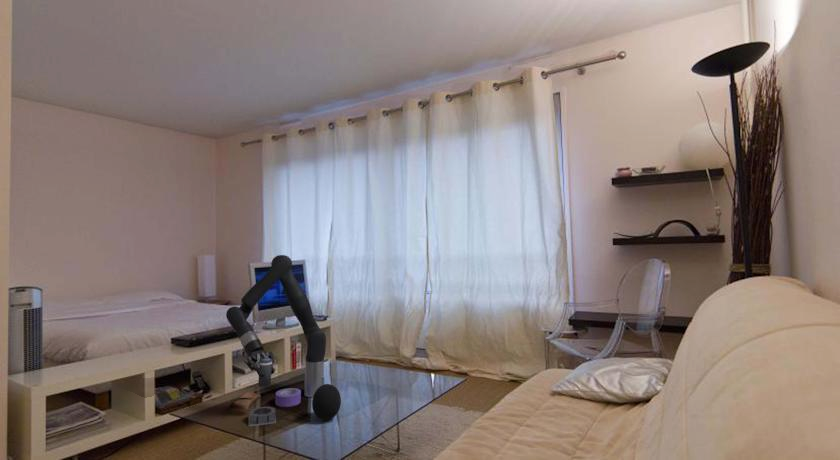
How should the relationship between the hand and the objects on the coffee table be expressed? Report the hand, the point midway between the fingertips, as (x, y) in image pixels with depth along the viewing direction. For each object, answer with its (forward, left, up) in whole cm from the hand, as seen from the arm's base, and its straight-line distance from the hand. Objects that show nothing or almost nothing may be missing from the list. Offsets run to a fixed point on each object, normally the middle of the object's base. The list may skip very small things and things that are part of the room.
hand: (268, 374), depth 181 cm
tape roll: (-10, -15, -19) cm, 26 cm away
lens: (+1, -2, -5) cm, 5 cm away
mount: (+2, +3, -18) cm, 19 cm away
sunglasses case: (+8, -21, -19) cm, 29 cm away
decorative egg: (-24, +11, -18) cm, 33 cm away
